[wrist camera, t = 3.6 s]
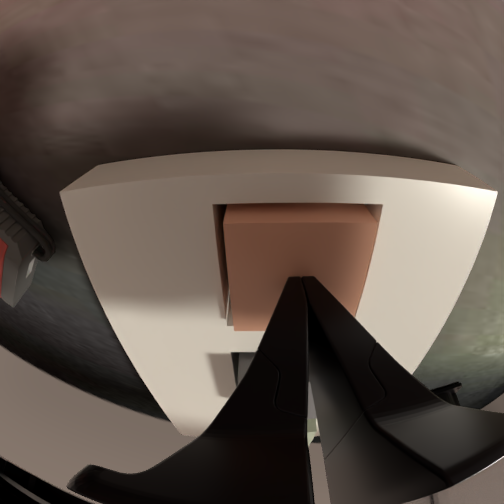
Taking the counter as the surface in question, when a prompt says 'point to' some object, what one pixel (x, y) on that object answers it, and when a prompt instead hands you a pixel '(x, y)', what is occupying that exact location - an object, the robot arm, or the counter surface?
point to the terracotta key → (294, 253)
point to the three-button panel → (215, 265)
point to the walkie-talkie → (19, 247)
